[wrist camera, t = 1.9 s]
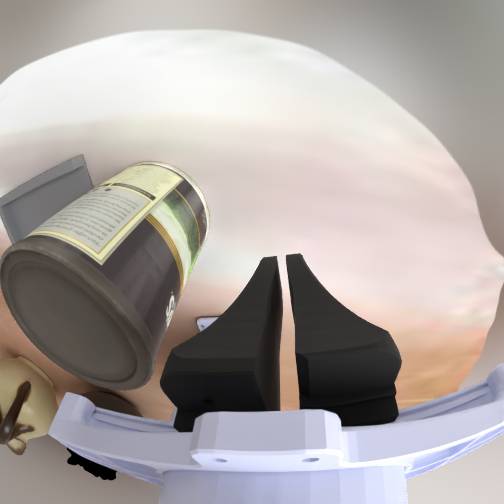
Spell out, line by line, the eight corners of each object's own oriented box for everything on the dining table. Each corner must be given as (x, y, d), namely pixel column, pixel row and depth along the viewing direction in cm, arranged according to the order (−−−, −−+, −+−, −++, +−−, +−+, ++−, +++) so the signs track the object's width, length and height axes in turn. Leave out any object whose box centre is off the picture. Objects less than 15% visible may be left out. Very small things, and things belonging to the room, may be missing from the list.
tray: (134, 287, 27) (127, 298, 26) (49, 292, 30) (42, 300, 28) (82, 154, 20) (71, 159, 18) (4, 195, 22) (-5, 201, 21)
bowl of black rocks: (161, 394, 40) (134, 490, 24) (166, 429, 50) (149, 498, 34) (65, 358, 39) (26, 436, 23) (90, 402, 49) (65, 463, 33)
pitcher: (26, 378, 53) (-3, 439, 32) (-9, 326, 41) (-53, 395, 19) (81, 406, 53) (54, 478, 32) (46, 356, 41) (0, 447, 20)
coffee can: (235, 214, 22) (194, 356, 10) (168, 282, 27) (114, 403, 15) (142, 134, 19) (4, 199, 7) (91, 218, 24) (-3, 312, 11)
